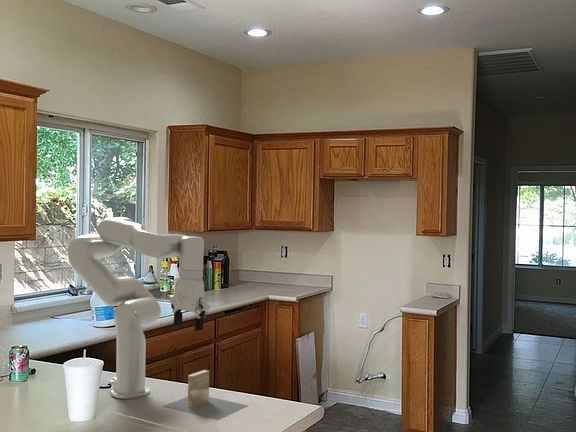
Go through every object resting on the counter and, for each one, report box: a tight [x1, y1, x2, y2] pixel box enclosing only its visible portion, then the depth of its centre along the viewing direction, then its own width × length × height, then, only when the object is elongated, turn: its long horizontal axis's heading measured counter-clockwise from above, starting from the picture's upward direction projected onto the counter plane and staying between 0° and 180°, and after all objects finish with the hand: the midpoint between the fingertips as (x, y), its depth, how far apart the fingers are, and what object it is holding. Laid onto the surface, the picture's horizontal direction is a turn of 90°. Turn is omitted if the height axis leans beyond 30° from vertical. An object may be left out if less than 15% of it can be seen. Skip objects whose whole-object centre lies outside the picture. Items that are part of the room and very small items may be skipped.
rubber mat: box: [162, 396, 249, 421], centre depth 200 cm, size 22×16×1 cm
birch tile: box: [187, 369, 210, 408], centre depth 201 cm, size 2×8×10 cm, turn 149°
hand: (188, 327), depth 203 cm, fingers open, 9 cm apart
